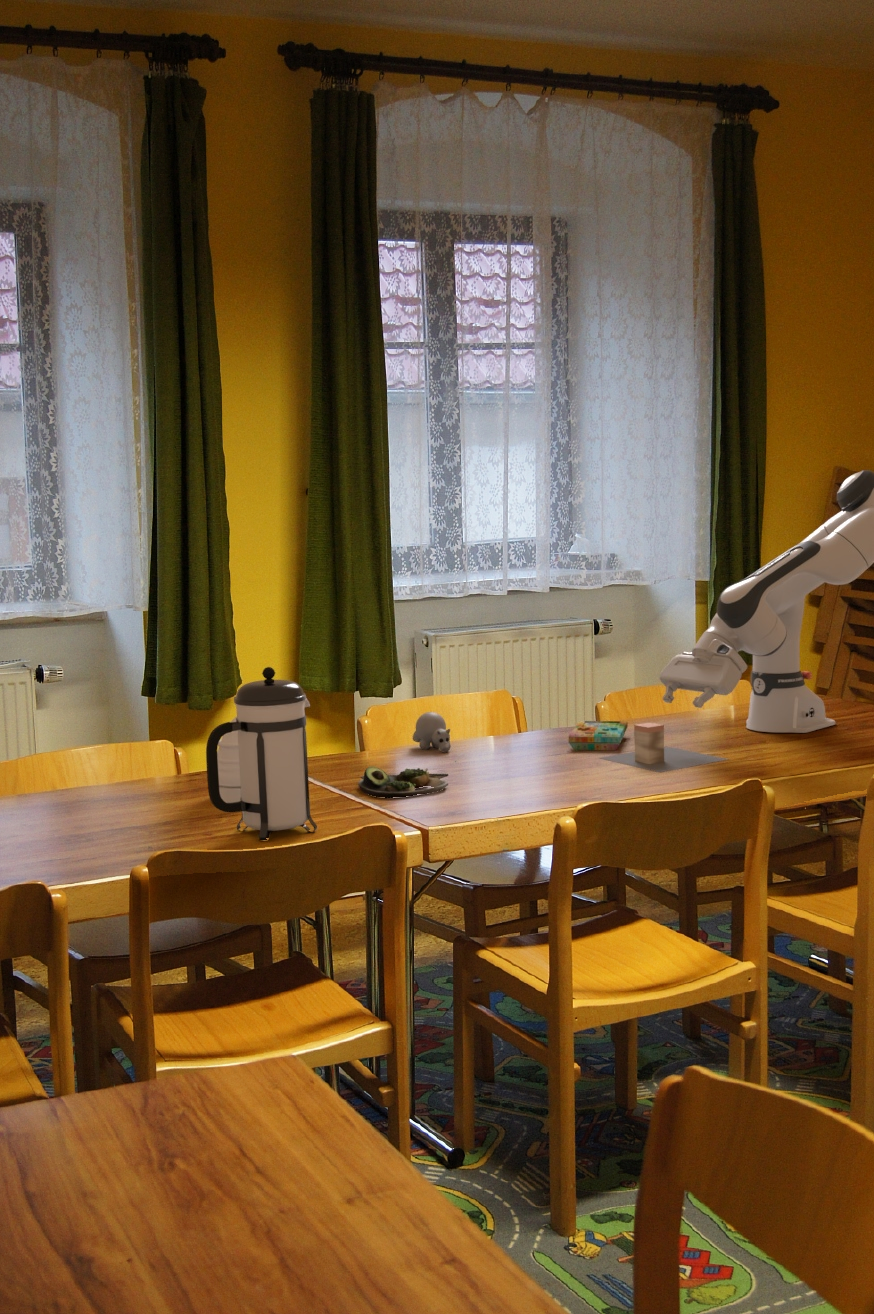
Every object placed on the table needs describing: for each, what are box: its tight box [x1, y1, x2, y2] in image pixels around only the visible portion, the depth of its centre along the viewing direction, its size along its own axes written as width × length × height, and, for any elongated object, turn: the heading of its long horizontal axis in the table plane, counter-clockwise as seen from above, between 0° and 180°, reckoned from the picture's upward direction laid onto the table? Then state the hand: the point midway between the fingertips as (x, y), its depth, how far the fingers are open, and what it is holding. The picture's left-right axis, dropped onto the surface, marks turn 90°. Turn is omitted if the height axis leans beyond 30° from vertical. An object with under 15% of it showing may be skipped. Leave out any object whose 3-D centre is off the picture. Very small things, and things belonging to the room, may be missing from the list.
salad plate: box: [357, 766, 449, 799], centre depth 266 cm, size 19×18×5 cm
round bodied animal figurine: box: [412, 711, 451, 753], centre depth 304 cm, size 7×12×8 cm, turn 30°
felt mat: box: [599, 745, 730, 773], centre depth 284 cm, size 20×20×1 cm
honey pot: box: [217, 715, 241, 803], centre depth 261 cm, size 13×13×18 cm
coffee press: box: [205, 666, 318, 841], centre depth 231 cm, size 17×16×30 cm
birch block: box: [633, 722, 665, 764], centre depth 281 cm, size 4×4×8 cm
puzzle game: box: [568, 720, 629, 752], centre depth 305 cm, size 12×5×20 cm
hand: (681, 703), depth 284 cm, fingers open, 8 cm apart
